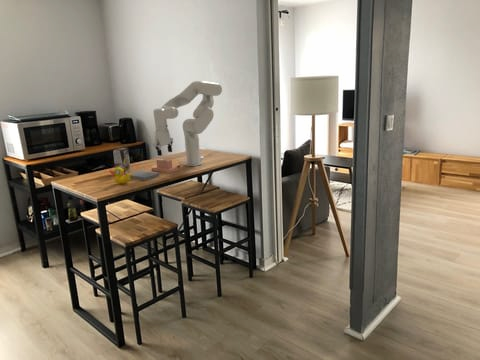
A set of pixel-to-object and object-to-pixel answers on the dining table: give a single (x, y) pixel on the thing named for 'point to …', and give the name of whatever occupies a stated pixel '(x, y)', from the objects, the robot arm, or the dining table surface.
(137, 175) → the ticket board
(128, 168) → the coffee box
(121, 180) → the duckling
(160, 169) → the stub
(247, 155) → the dining table surface
